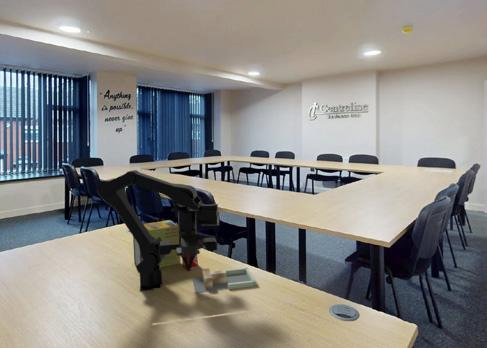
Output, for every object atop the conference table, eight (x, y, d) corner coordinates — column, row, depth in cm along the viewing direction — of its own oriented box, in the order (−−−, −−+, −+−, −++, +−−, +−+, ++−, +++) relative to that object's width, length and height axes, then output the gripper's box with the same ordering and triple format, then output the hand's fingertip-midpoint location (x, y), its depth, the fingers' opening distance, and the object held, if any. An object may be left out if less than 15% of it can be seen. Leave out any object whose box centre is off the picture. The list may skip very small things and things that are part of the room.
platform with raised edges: (195, 294, 105) (195, 288, 105) (192, 278, 116) (192, 273, 116) (256, 287, 110) (256, 281, 109) (247, 272, 121) (247, 267, 121)
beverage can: (195, 270, 123) (194, 231, 122) (178, 269, 125) (177, 230, 123) (200, 264, 129) (199, 226, 128) (184, 263, 131) (183, 226, 129)
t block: (205, 289, 107) (204, 278, 107) (202, 278, 115) (202, 269, 115) (227, 286, 109) (227, 276, 109) (223, 276, 117) (223, 266, 117)
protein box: (181, 263, 130) (180, 225, 129) (142, 273, 122) (140, 231, 120) (171, 256, 139) (169, 219, 137) (133, 264, 130) (131, 225, 129)
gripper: (157, 233, 98) (159, 284, 100) (220, 229, 102) (220, 278, 104) (157, 224, 109) (159, 270, 110) (214, 220, 113) (215, 264, 115)
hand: (188, 271), depth 110 cm, fingers closed
